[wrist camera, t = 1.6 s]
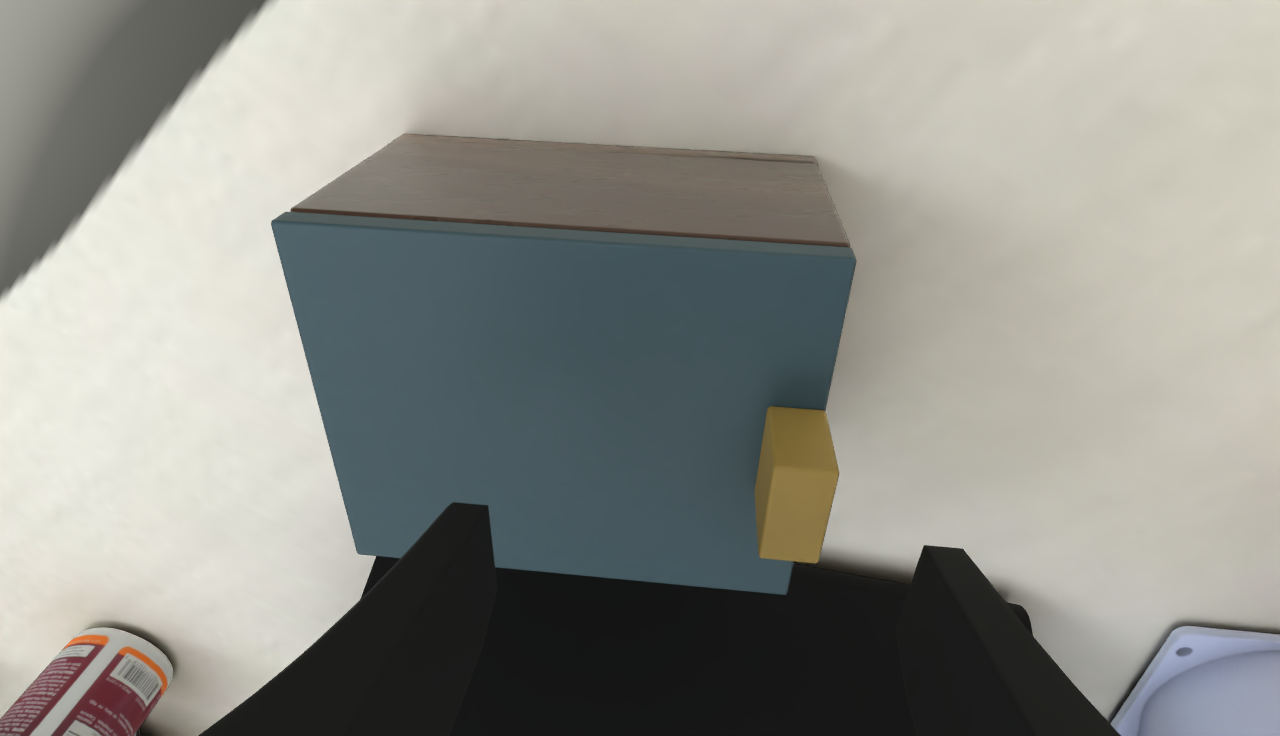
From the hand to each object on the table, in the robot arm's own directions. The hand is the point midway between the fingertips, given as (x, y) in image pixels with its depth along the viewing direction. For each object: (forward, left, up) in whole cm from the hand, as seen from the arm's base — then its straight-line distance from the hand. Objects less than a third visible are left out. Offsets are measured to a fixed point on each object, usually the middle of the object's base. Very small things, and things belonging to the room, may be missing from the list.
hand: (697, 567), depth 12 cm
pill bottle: (-21, +26, -10) cm, 35 cm away
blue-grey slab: (0, +3, -4) cm, 5 cm away
